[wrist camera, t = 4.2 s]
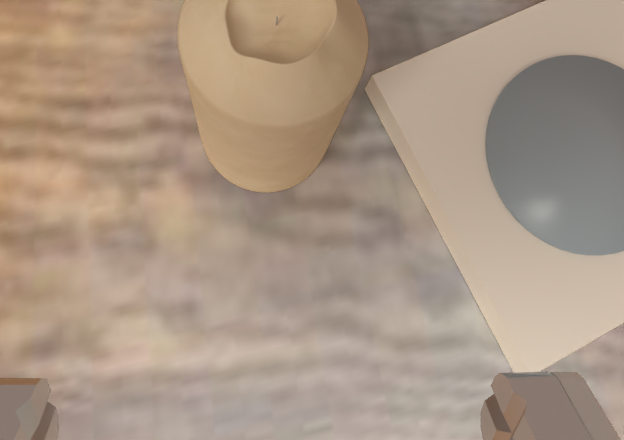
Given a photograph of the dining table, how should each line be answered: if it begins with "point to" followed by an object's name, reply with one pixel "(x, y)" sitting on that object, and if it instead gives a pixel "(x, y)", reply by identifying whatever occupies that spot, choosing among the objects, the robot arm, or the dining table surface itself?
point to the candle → (270, 82)
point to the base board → (524, 168)
